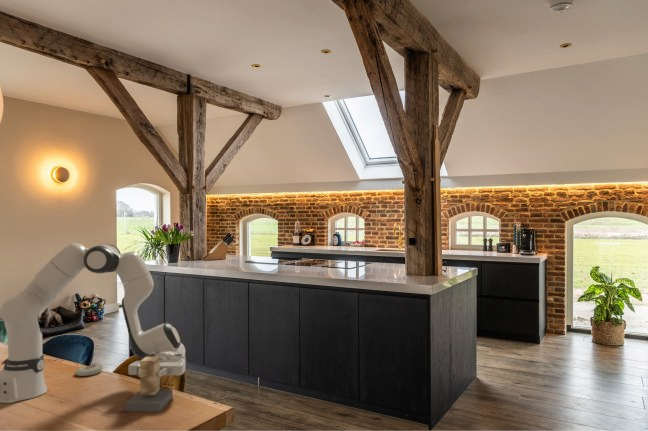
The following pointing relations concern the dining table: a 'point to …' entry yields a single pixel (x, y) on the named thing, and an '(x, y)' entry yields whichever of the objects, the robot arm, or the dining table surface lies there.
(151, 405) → the plinth
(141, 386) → the oak block
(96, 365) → the fossil
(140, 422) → the dining table surface
